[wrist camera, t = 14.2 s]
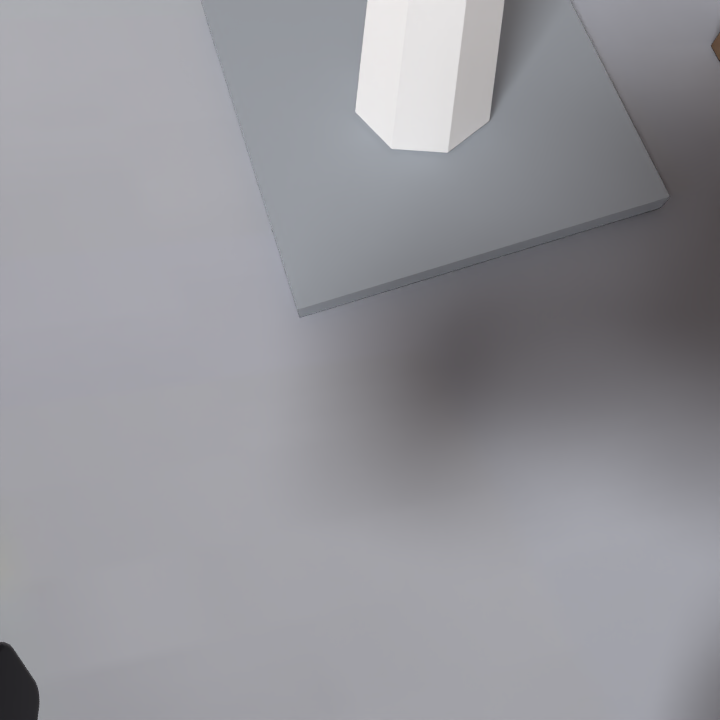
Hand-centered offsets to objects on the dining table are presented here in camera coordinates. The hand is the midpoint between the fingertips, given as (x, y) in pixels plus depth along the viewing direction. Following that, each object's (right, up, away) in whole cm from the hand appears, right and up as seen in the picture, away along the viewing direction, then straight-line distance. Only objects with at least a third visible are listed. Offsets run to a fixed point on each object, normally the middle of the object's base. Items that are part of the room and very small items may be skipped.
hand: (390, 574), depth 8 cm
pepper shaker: (+2, +13, +17) cm, 21 cm away
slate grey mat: (+2, +13, +18) cm, 22 cm away
